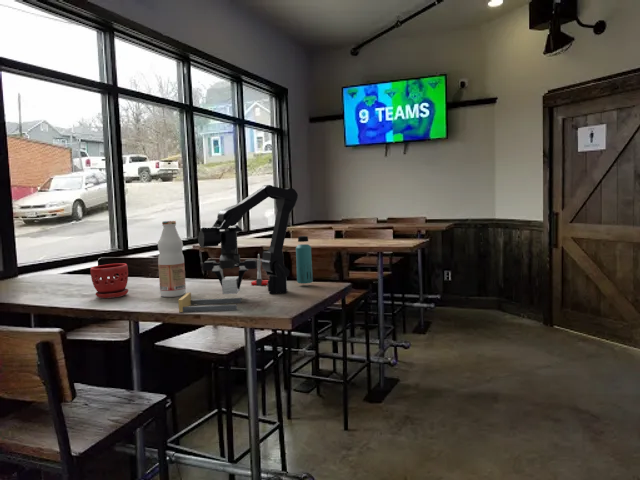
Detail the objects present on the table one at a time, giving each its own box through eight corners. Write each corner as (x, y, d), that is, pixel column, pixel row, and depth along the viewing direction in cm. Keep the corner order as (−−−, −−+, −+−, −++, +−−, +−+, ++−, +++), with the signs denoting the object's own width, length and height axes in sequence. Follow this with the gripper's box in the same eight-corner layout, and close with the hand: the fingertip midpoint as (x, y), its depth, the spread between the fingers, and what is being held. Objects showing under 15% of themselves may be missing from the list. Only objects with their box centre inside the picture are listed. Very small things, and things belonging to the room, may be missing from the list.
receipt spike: (255, 282, 215) (248, 285, 206) (254, 252, 215) (248, 254, 206) (274, 282, 214) (268, 285, 205) (273, 252, 214) (268, 254, 205)
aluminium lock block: (239, 289, 181) (239, 276, 181) (236, 293, 174) (236, 279, 174) (226, 290, 181) (225, 276, 181) (222, 294, 174) (221, 279, 174)
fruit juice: (157, 297, 185) (152, 222, 183) (164, 293, 195) (159, 221, 193) (182, 296, 186) (178, 221, 183) (188, 292, 195) (184, 220, 193)
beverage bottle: (307, 287, 196) (305, 236, 195) (293, 286, 200) (291, 236, 198) (316, 285, 202) (314, 235, 200) (302, 284, 205) (300, 235, 204)
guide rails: (241, 302, 172) (240, 290, 172) (236, 309, 160) (235, 297, 160) (187, 304, 172) (187, 292, 172) (179, 312, 159) (178, 299, 159)
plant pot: (112, 292, 200) (110, 262, 199) (137, 294, 194) (135, 263, 193) (84, 298, 189) (82, 267, 188) (109, 300, 183) (107, 268, 182)
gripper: (197, 248, 168) (200, 294, 169) (253, 246, 169) (255, 292, 170) (204, 245, 179) (206, 288, 181) (256, 243, 180) (258, 286, 181)
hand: (231, 289), depth 178 cm, fingers closed on aluminium lock block, 5 cm apart
